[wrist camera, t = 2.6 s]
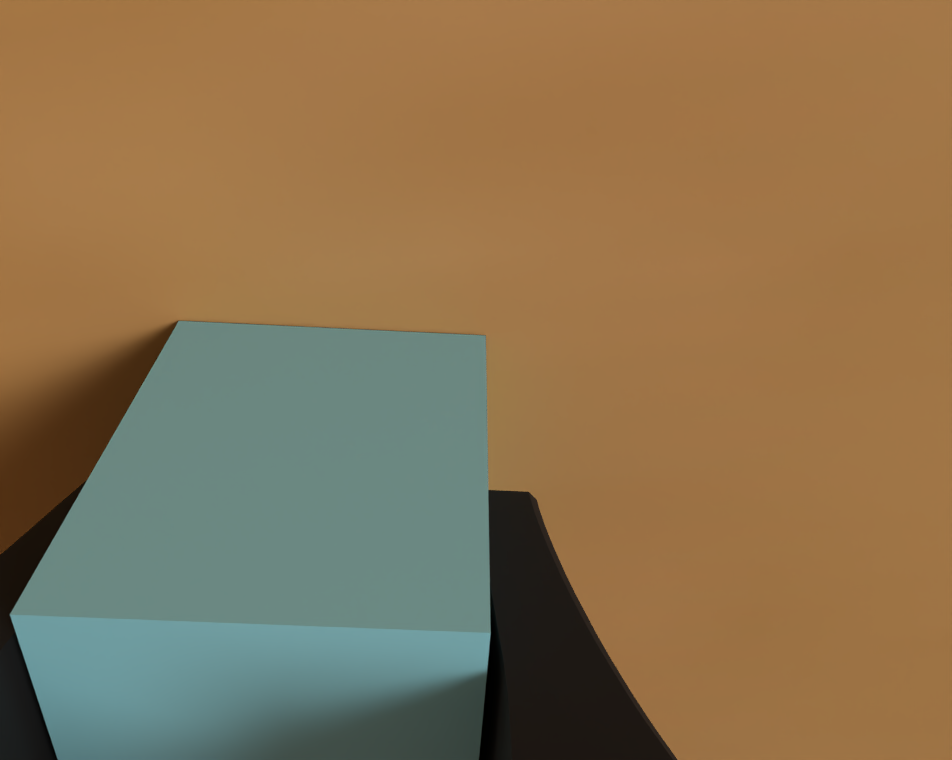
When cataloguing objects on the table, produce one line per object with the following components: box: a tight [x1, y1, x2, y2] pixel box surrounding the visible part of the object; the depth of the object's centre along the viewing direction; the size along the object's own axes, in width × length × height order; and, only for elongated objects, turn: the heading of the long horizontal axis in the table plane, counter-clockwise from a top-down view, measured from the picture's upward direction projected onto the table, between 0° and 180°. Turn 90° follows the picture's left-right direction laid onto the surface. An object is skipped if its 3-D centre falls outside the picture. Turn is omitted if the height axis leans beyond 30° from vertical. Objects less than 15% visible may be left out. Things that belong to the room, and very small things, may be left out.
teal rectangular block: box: [10, 321, 491, 760], centre depth 11 cm, size 4×4×5 cm
